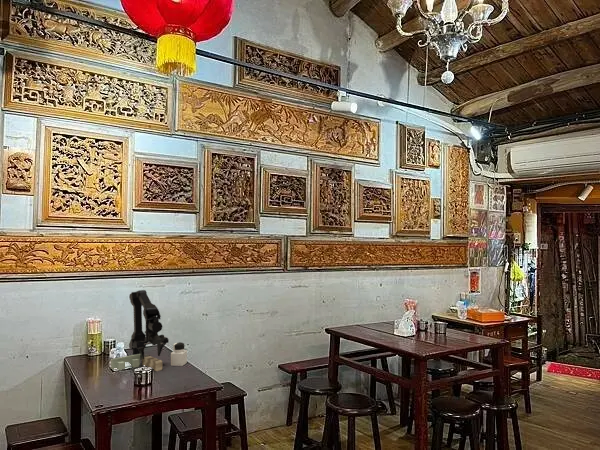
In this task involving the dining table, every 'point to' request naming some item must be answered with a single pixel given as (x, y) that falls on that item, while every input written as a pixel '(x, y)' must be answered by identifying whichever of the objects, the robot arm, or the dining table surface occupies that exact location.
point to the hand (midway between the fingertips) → (151, 357)
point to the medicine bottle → (178, 355)
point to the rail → (152, 362)
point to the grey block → (120, 361)
